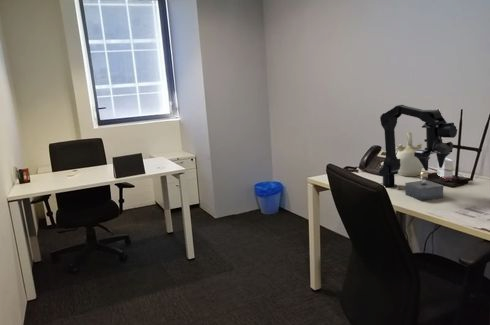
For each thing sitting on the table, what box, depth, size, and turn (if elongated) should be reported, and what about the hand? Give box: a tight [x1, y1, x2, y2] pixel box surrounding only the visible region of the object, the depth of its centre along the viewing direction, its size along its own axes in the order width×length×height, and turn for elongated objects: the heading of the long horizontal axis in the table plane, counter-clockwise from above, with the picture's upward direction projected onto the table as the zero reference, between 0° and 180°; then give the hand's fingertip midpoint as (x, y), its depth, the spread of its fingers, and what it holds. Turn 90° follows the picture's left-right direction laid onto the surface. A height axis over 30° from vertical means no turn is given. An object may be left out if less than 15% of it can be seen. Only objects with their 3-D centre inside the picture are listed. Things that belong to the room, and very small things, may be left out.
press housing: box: [404, 179, 444, 202], centre depth 190 cm, size 12×12×6 cm
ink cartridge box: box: [436, 157, 454, 179], centre depth 214 cm, size 9×5×15 cm, turn 178°
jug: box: [395, 132, 423, 177], centre depth 231 cm, size 15×16×25 cm
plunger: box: [419, 170, 429, 185], centre depth 189 cm, size 9×9×8 cm
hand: (433, 169), depth 188 cm, fingers open, 9 cm apart
